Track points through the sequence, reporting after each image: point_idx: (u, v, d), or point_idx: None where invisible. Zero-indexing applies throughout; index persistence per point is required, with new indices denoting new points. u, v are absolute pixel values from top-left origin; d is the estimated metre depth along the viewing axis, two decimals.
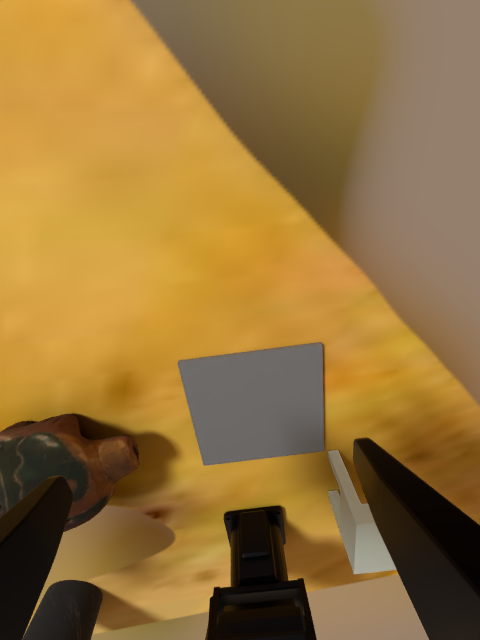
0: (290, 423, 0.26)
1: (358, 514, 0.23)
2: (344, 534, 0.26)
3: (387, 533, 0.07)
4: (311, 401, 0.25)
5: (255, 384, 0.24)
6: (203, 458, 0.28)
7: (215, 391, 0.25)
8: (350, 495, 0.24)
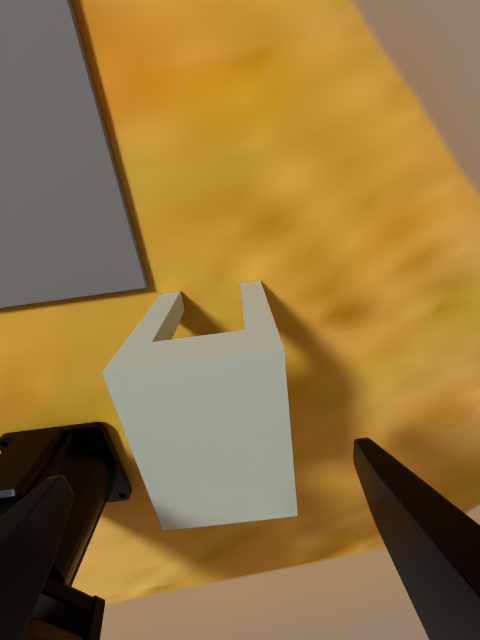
0: (50, 207, 0.12)
1: (126, 356, 0.08)
2: None
3: (387, 533, 0.07)
4: (77, 138, 0.11)
5: None
6: None
7: None
8: (141, 333, 0.10)
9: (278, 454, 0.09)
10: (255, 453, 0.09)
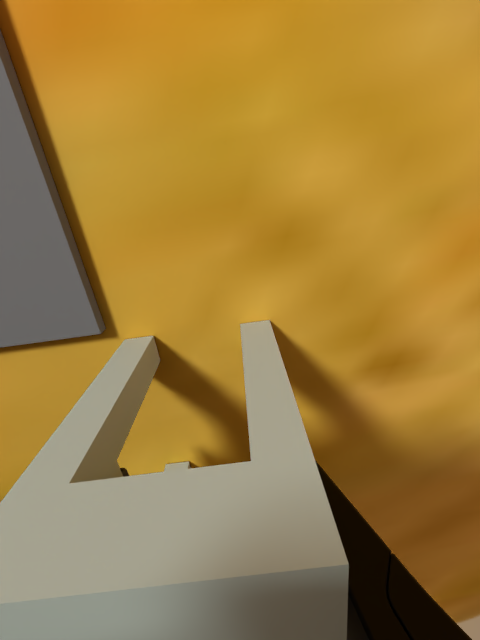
0: None
1: (0, 540, 0.04)
2: None
3: None
4: None
5: None
6: None
7: None
8: (61, 448, 0.05)
9: None
10: None
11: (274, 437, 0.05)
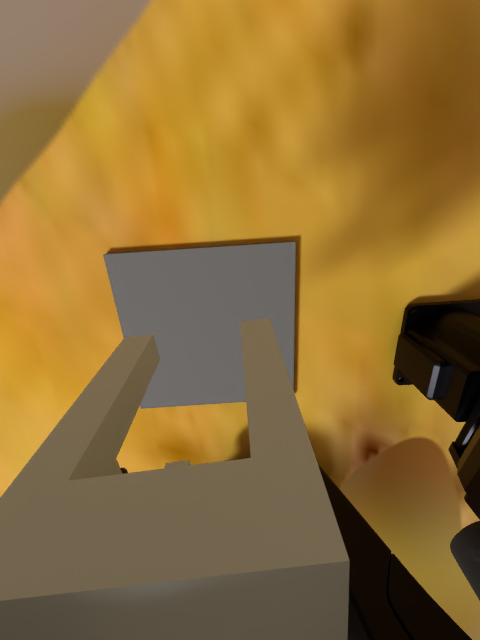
0: (234, 293, 0.19)
1: None
2: None
3: None
4: (196, 265, 0.18)
5: (167, 335, 0.20)
6: None
7: (177, 378, 0.21)
8: (60, 445, 0.05)
9: None
10: None
11: (274, 434, 0.05)
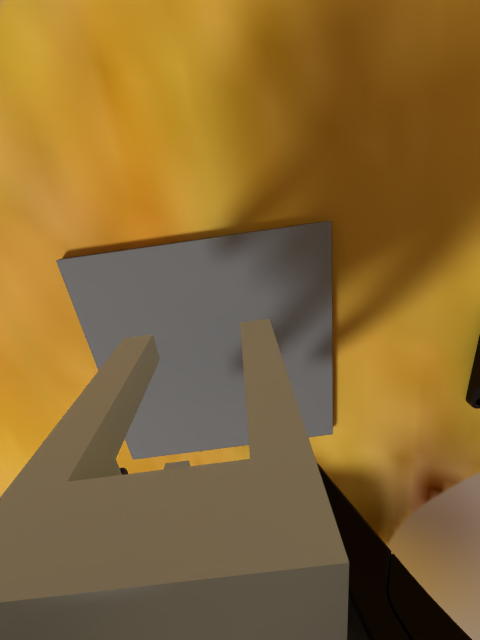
0: (246, 302, 0.13)
1: None
2: None
3: None
4: (190, 266, 0.13)
5: (158, 364, 0.14)
6: (316, 434, 0.17)
7: (177, 418, 0.16)
8: (60, 446, 0.05)
9: None
10: None
11: (274, 435, 0.05)
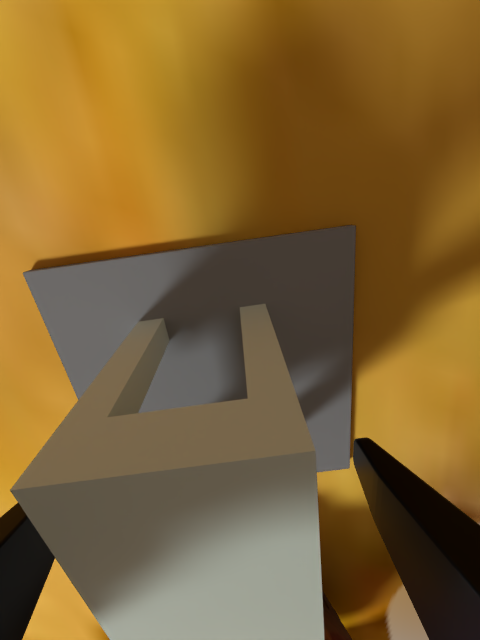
0: None
1: (60, 450, 0.05)
2: None
3: (387, 533, 0.07)
4: (184, 279, 0.10)
5: (148, 392, 0.12)
6: (330, 468, 0.15)
7: None
8: (96, 397, 0.07)
9: (300, 586, 0.06)
10: (265, 585, 0.06)
11: (266, 383, 0.06)
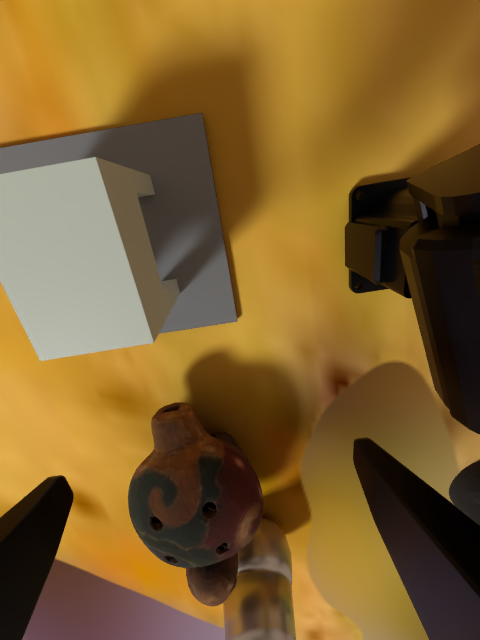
0: None
1: None
2: None
3: (387, 533, 0.07)
4: (91, 156, 0.15)
5: None
6: (223, 321, 0.19)
7: None
8: None
9: (119, 272, 0.11)
10: (99, 271, 0.11)
11: None
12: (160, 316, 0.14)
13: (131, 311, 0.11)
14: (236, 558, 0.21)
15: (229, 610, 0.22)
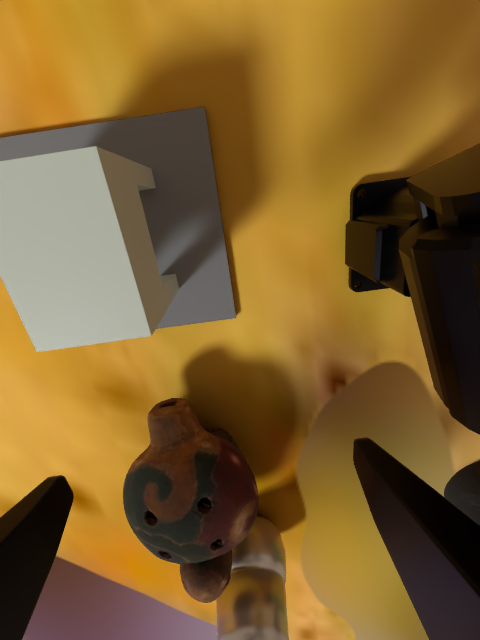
0: None
1: None
2: None
3: (387, 533, 0.07)
4: None
5: None
6: (221, 317, 0.19)
7: None
8: None
9: (118, 263, 0.11)
10: (98, 262, 0.11)
11: None
12: (159, 310, 0.14)
13: (129, 303, 0.11)
14: (230, 555, 0.21)
15: (222, 607, 0.22)
